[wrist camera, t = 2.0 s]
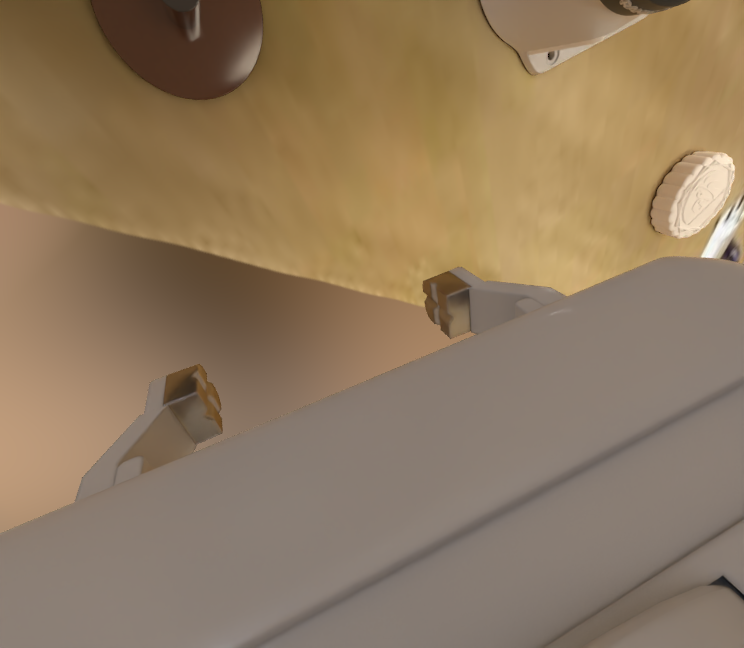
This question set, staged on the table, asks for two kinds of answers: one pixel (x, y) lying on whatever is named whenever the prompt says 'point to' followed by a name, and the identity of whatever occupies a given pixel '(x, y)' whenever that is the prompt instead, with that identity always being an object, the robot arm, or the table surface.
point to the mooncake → (692, 193)
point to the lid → (185, 42)
